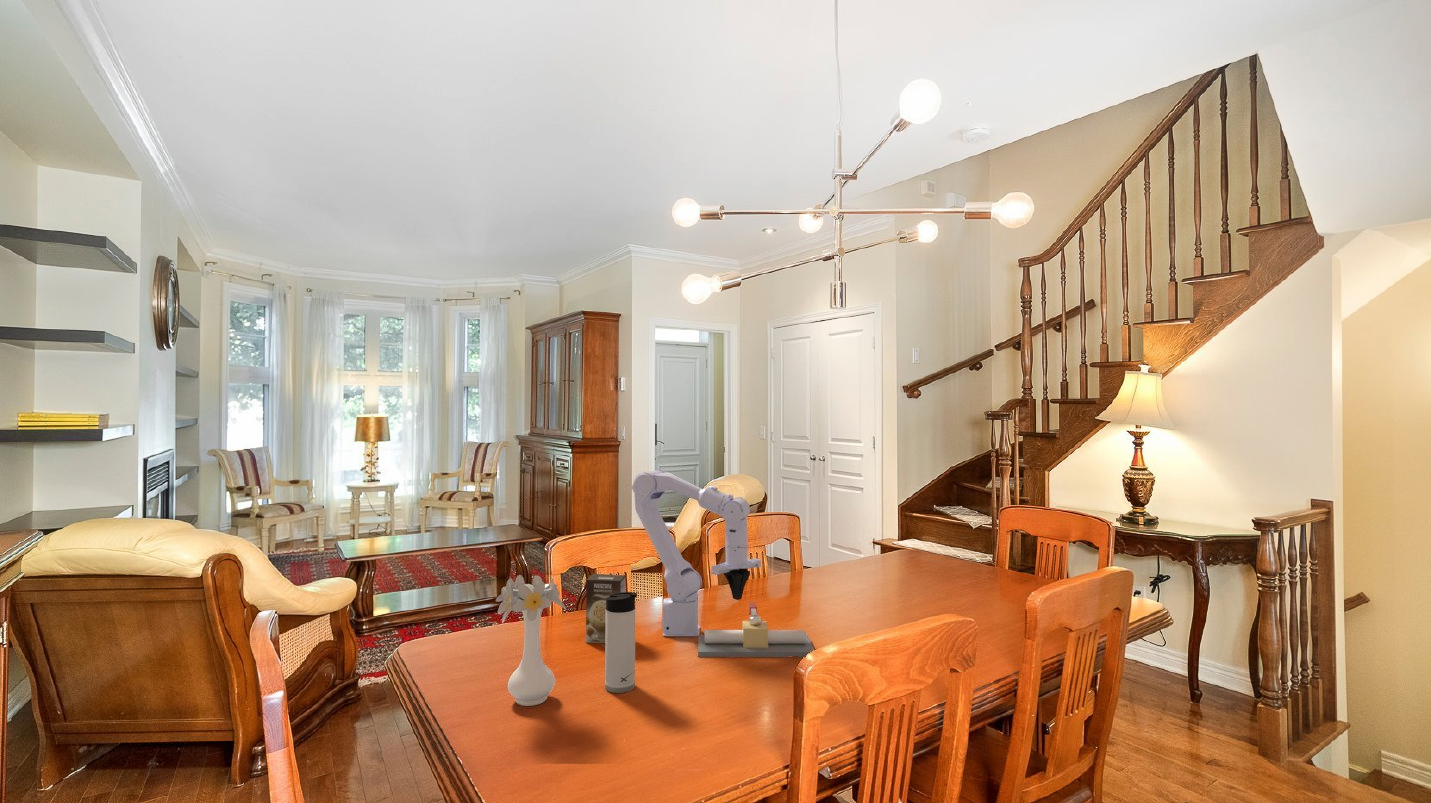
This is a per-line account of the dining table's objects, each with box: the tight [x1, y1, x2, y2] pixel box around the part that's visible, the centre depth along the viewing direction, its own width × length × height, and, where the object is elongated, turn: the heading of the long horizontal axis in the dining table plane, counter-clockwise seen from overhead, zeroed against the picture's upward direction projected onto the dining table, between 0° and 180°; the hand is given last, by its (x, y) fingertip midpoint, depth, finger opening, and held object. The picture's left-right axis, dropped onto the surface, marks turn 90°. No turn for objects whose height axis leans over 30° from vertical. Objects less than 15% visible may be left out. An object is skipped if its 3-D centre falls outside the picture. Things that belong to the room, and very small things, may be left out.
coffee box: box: [584, 573, 626, 644], centre depth 173 cm, size 9×6×16 cm
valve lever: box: [748, 601, 762, 625], centre depth 173 cm, size 3×13×2 cm, turn 0°
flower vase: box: [495, 574, 567, 707], centre depth 138 cm, size 13×18×25 cm
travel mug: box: [604, 591, 638, 694], centre depth 144 cm, size 6×7×20 cm
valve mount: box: [697, 620, 815, 658], centre depth 168 cm, size 28×12×6 cm, turn 90°
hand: (737, 598), depth 174 cm, fingers closed
